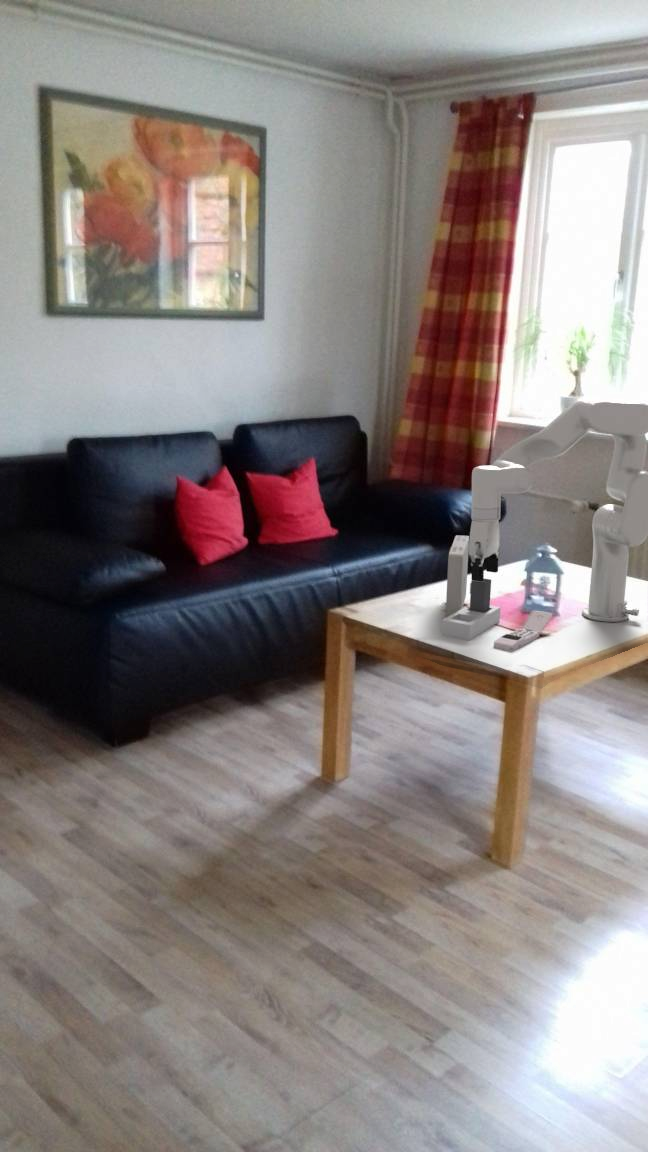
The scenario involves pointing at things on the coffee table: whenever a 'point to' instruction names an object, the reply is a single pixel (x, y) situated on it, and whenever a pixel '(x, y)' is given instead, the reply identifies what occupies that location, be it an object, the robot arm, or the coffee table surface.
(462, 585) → the network device
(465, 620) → the socket block
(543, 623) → the mobile phone
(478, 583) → the plug
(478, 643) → the coffee table surface
